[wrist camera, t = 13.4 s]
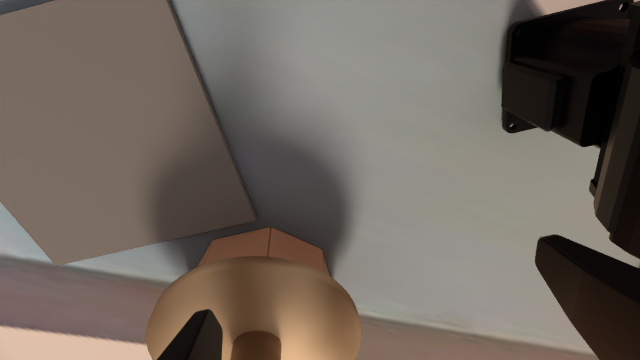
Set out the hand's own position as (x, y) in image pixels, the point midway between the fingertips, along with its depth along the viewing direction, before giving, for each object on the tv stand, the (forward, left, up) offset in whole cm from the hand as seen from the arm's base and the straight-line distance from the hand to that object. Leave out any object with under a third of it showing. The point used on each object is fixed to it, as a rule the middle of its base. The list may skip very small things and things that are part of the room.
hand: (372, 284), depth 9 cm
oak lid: (+8, +12, -8) cm, 17 cm away
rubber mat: (+14, -2, -13) cm, 19 cm away
